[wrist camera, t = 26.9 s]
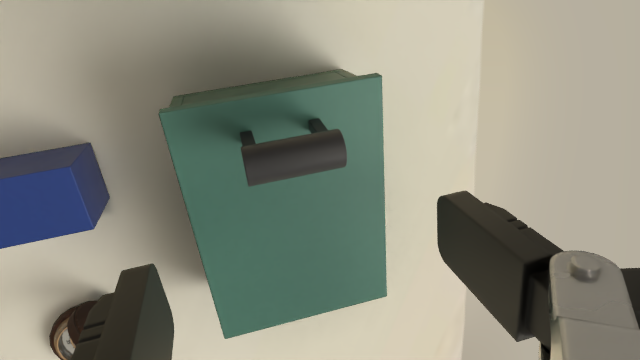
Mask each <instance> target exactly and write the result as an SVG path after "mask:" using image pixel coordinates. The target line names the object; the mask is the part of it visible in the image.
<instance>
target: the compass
mask: <svg viewBox="0 0 640 360" xmlns="http://www.w3.org/2000/svg"><path fill="white" fill-rule="evenodd" d="M97 302H98V301H88V302H85V303H82V304H81V305H79V306H77V307H74V308H71V309H69V310H68V311H66V312H65V313H63V314H62V315H61V316H60V317H59V318H58V319H57V321H56V322H55V323H54V325H53V327H52V330H51V333H50V336H49V337H50V346H51V348H52V350H53V352H54V353H55V354H56V355H57V356H58V357H59V358H60V359H61V360H71V358H72V355H73V353H74V350H75V347H76V345H77V344H78V343H79V342H78V339H79V337H80V334H81V332H82V330H84V328H83V326H84V324H85V321H86V318H87V316H88V313H89V311H90V310H91V308H92V307H93V306H94V305H95V304H96V303H97Z"/></svg>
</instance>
